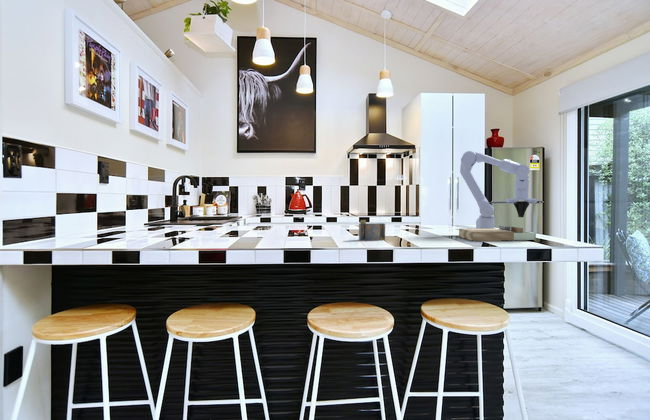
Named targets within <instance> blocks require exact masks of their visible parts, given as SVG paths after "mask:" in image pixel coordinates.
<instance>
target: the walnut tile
mask: <svg viewBox="0 0 650 420" xmlns="http://www.w3.org/2000/svg"><path fill="white" fill-rule="evenodd" d="M510 230H511V231H512V232H514V233H523V231H524V228H523V227H520V226H519V227H518V226H510Z"/></svg>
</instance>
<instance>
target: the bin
mask: <svg viewBox="0 0 650 420" xmlns="http://www.w3.org/2000/svg"><path fill="white" fill-rule="evenodd" d="M510 231H511V229H510ZM514 240H534V241H533V242H536V241H537V233H536V232H533V231H532V232H531V231H525V230H523V233H514Z"/></svg>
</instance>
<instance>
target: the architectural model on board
mask: <svg viewBox="0 0 650 420" xmlns="http://www.w3.org/2000/svg"><path fill="white" fill-rule="evenodd" d="M364 239H365V240H364ZM362 240H363V241H385V240H386V223H379V222H378V223H367V220H366V219H361V220H360V221H359V224H358V241H362Z"/></svg>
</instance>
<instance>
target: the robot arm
mask: <svg viewBox="0 0 650 420" xmlns="http://www.w3.org/2000/svg"><path fill="white" fill-rule="evenodd" d="M476 163H486V164H490V165H493V166H496V167H498V168H499V171H503V172H505V173H508V174H512V175H515V176H516V178H515V181H514V182H515V183H514V184H515V185H514V187H515V189H514V198H505V203H513V206H514V207H515V210H516V212H517V216H518V218H524V217H525V214H526V211H527V209H528V207H529V206H530V203H534V204H535V203H538V198H529V190H530V189H529V188H530V187H529V183H530V180H529V178H530V176H529V174H530V167H528V166H527V165H525V164H522V163H521V162H515V161H512V159H510V158H507V159H506V158H504V159H502V160H501V159H497V158H494V157H492V156H489V155H487V154H484V153H481V152H473V151H471V150H468V151H465V152H464V153H463V155H461V158H460V167H459V169H460V171H459V173H460V175H461V176H462V178H463V180H464V182H465V183H466V185H467V187H468V189H469V190H470V191H469V192H470V193H471V194H472V196H473V198H474V200H475V201H476V203H477V205H478V209H479V214H480V215H479V217H478V218H477V219H476V222H475V229H495V223H496V222H495V219H496V215H495V216H494V215H493V214H494V213H495V208H494V205H493V204H490V202H489V200H488V199H487V197H486V196H485V193H483V192H484V191H482V190H481V187H480V186H479V184H478V182H477V181H476V179H475V177H474V175H473V172H472V169H473V166H475V164H476Z"/></svg>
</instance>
